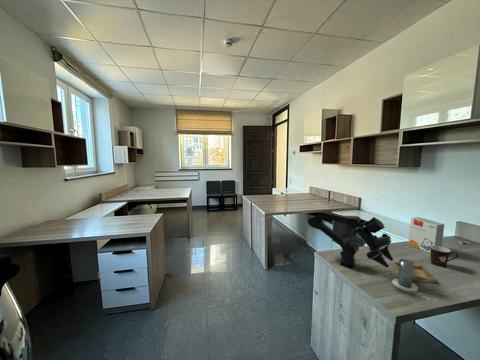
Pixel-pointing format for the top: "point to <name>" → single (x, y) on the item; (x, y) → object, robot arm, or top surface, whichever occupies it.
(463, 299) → the top surface
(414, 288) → the drink coaster
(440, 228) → the hard drive box
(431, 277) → the light wooden tray
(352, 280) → the top surface
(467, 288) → the top surface
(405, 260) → the grey round cylinder
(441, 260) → the coffee mug
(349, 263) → the robot arm
